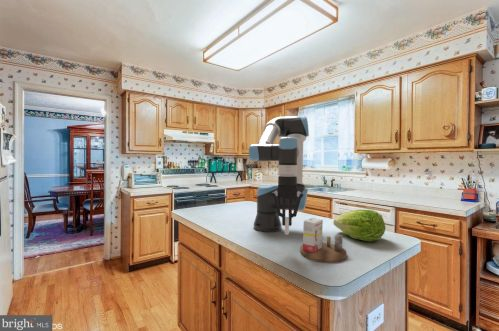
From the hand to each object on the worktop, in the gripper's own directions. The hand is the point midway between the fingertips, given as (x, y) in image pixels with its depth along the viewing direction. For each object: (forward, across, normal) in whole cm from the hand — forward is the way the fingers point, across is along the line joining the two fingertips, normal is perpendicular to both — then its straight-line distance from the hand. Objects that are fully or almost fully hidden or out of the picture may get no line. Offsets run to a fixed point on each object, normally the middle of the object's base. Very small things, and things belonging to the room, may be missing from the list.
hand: (286, 233), depth 103 cm
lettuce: (+7, +35, +25) cm, 43 cm away
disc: (+8, +15, +1) cm, 16 cm away
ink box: (+6, +11, +1) cm, 12 cm away
